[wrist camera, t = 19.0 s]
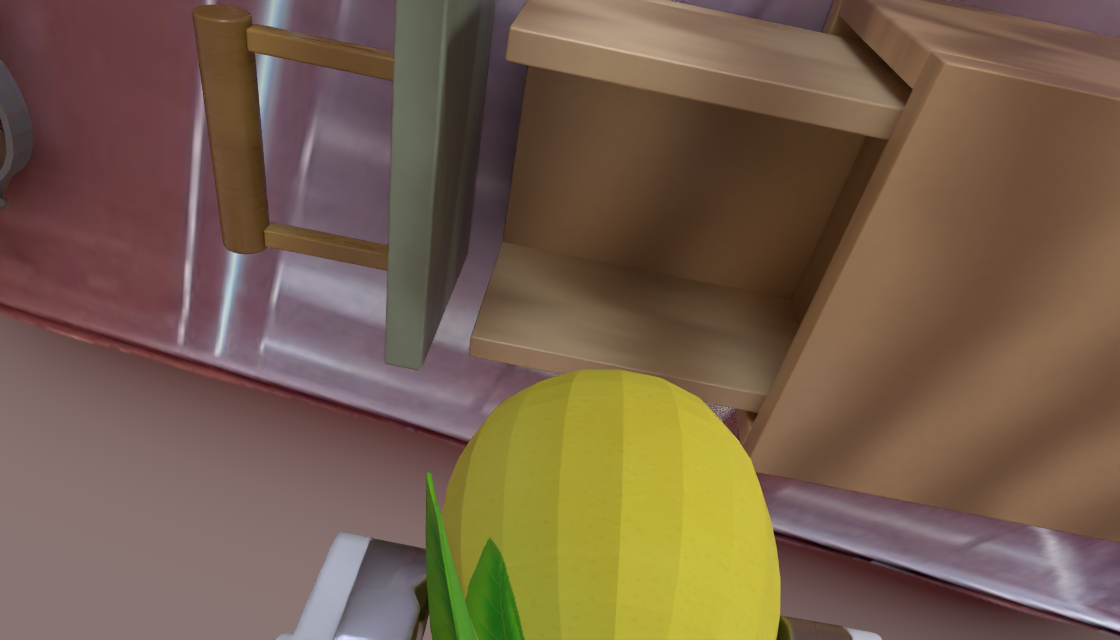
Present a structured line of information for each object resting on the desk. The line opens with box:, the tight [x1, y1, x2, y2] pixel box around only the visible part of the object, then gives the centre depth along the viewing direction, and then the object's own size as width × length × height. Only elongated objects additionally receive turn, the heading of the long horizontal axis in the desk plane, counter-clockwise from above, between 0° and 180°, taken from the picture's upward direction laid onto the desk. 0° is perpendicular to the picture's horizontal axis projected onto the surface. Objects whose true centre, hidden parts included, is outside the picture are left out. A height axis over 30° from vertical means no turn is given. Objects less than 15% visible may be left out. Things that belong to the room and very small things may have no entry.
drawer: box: [192, 0, 913, 413], centre depth 22 cm, size 20×12×7 cm, turn 80°
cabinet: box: [735, 0, 1120, 543], centre depth 22 cm, size 16×13×9 cm
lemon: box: [426, 369, 780, 640], centre depth 11 cm, size 7×6×10 cm
